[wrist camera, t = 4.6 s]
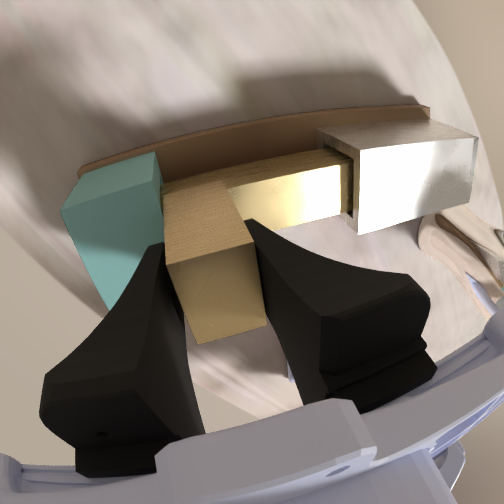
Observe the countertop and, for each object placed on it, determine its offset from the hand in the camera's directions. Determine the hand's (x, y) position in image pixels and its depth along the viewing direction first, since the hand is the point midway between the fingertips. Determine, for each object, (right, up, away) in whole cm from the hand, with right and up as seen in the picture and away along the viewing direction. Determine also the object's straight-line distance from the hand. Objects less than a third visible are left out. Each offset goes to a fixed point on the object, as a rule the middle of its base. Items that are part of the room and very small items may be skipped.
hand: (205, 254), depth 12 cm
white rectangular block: (+10, +6, +6) cm, 13 cm away
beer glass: (+19, +3, +13) cm, 23 cm away
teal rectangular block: (-5, +2, +4) cm, 7 cm away
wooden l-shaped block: (+2, +3, +4) cm, 6 cm away
